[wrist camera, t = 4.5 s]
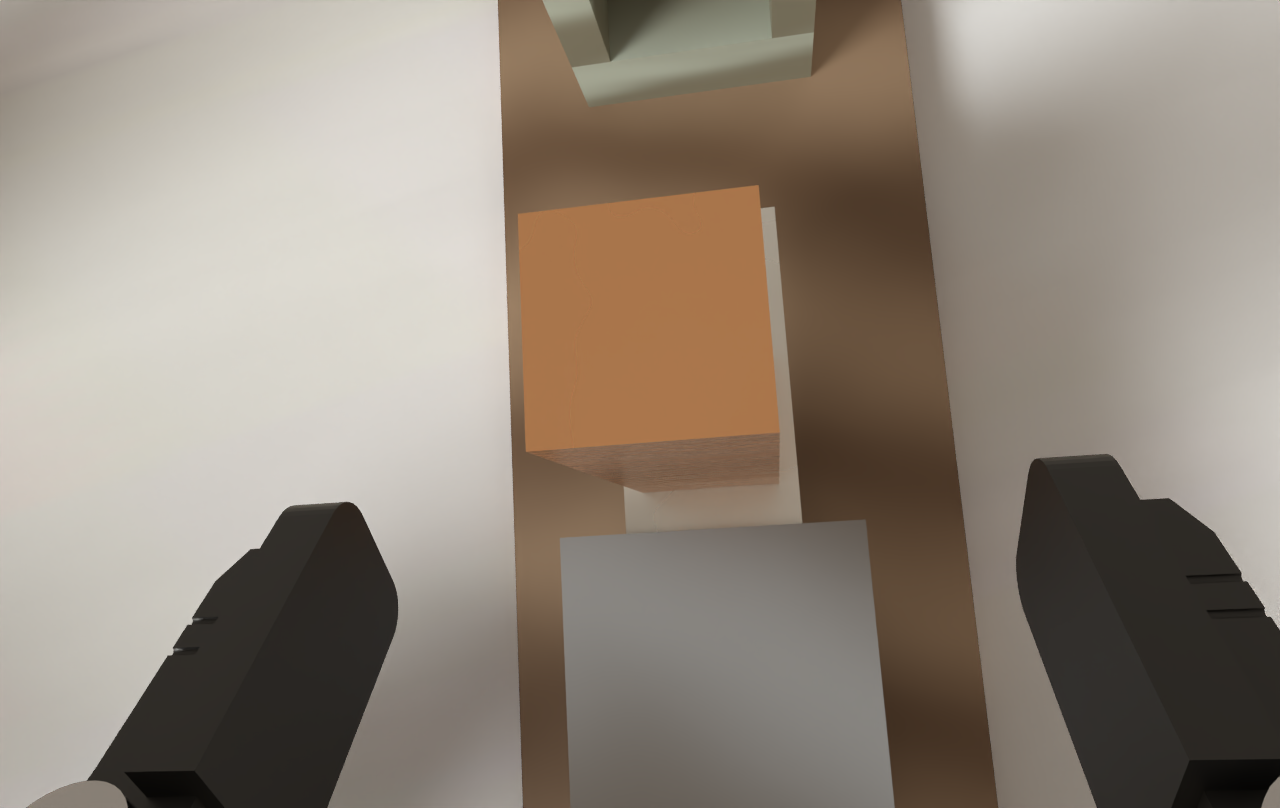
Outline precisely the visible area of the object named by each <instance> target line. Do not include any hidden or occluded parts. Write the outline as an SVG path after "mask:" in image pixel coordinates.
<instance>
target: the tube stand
mask: <svg viewBox="0 0 1280 808" xmlns="http://www.w3.org/2000/svg"><path fill="white" fill-rule="evenodd" d="M498 17H499V50H500V82H501V114H502V146H503V178H504V210H505V243H506V275H507V307H508V339H509V371H510V404H511V436H512V468H513V500H514V532H515V564H516V597H517V629H518V661H519V693H520V725H521V757H522V790H523V808H998V803H997V794H996V786H995V778H994V769H993V761H992V753H991V744H990V736H989V728H988V720H987V711H986V703H985V695H984V686H983V678H982V670H981V661H980V653H979V645H978V636H977V628H976V620H975V612H974V603H973V595H972V587H971V578H970V570H969V562H968V553H967V545H966V537H965V528H964V520H963V512H962V504H961V495H960V487H959V479H958V470H957V462H956V454H955V445H954V437H953V429H952V420H951V412H950V404H949V396H948V387H947V379H946V371H945V362H944V354H943V346H942V337H941V329H940V321H939V312H938V304H937V296H936V288H935V279H934V271H933V263H932V254H931V246H930V238H929V229H928V221H927V213H926V204H925V196H924V188H923V179H922V171H921V163H920V155H919V146H918V138H917V130H916V121H915V113H914V105H913V96H912V88H911V80H910V71H909V63H908V55H907V47H906V38H905V30H904V22H903V13H902V5H901V0H498ZM755 185H759V195H760V207H761V208H768V207H775V218H776V229H777V241H778V252H779V263H780V275H781V286H782V297H783V309H784V320H785V331H786V343H787V354H788V365H789V377H790V388H791V399H792V411H793V422H794V433H795V445H796V456H797V467H798V479H799V490H800V501H801V513H802V523H799V524H782V525H766V526H749V527H732V528H716V529H699V530H683V531H666V532H649V533H633V534H626V520H625V502H624V486H622V485H619V484H616V483H613V482H610V481H608V480H605V479H602V478H599V477H596V476H593V475H591V474H588V473H585V472H582V471H579V470H576V469H573V468H571V467H568V466H565V465H562V464H559V463H556V462H553V461H551V460H548V459H545V458H542V457H539V456H536V455H534V454H531V453H528V452H526V443H525V414H524V384H523V355H522V325H521V296H520V266H519V237H518V214H521V213H529V212H538V211H546V210H554V209H563V208H571V207H579V206H588V205H596V204H605V203H613V202H621V201H630V200H638V199H646V198H655V197H663V196H671V195H680V194H688V193H696V192H705V191H713V190H721V189H730V188H738V187H746V186H755Z"/></svg>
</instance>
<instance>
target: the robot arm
mask: <svg viewBox="0 0 1280 808" xmlns="http://www.w3.org/2000/svg"><path fill="white" fill-rule="evenodd" d="M1016 572H1017V582H1018V589H1019V595H1020V599H1021V603H1022V607H1023V610H1024V613H1025V615H1026V618H1027V621H1028V624H1029V626H1030V629H1031V632H1032V634H1033V637H1034V640H1035V642H1036V645H1037V648H1038V650H1039V653H1040V656H1041V658H1042V661H1043V664H1044V666H1045V669H1046V672H1047V674H1048V677H1049V680H1050V682H1051V685H1052V688H1053V691H1054V693H1055V696H1056V699H1057V701H1058V704H1059V707H1060V709H1061V712H1062V715H1063V717H1064V720H1065V723H1066V725H1067V728H1068V731H1069V733H1070V736H1071V739H1072V741H1073V744H1074V747H1075V750H1076V752H1077V755H1078V758H1079V760H1080V763H1081V766H1082V768H1083V771H1084V774H1085V776H1086V779H1087V782H1088V784H1089V787H1090V790H1091V792H1092V795H1093V798H1094V800H1095V803H1096V806H1097V808H1280V630H1279V628H1278V627H1277V625H1276V624H1275V622H1274V621H1273V619H1272V618H1271V617H1267V616H1266V615H1265V611H1264V609H1265V607H1264V606H1263V604H1262V603H1261V601H1260V600H1259V598H1258V597H1257V595H1256V594H1255V592H1254V591H1253V590H1252V588H1251V587H1250V585H1249V584H1248V582H1247V581H1245V582H1243V580H1242V578H1241V572H1240V570H1239V569H1238V567H1237V566H1236V564H1235V563H1234V561H1233V560H1232V558H1231V557H1230V555H1229V554H1228V552H1227V551H1226V549H1225V548H1224V546H1223V545H1222V543H1221V542H1220V540H1219V539H1218V537H1217V536H1216V534H1215V533H1214V532H1213V531H1212V530H1211V529H1209V528H1208V527H1207V526H1205V525H1204V524H1203V523H1201V522H1200V521H1199V520H1197V519H1196V518H1195V517H1193V516H1192V515H1191V514H1189V513H1188V512H1187V511H1185V510H1184V509H1183V508H1181V507H1180V506H1179V505H1177V504H1176V503H1175V502H1173V501H1172V500H1171V499H1169V498H1166V499H1149V500H1140V499H1139V497H1138V495H1137V494H1136V492H1135V490H1134V489H1133V487H1132V485H1131V484H1130V482H1129V480H1128V479H1127V477H1126V475H1125V474H1124V472H1123V470H1122V469H1121V467H1120V465H1119V464H1118V462H1117V461H1116V460H1115V459H1114V458H1113V457H1112V456H1111V455H1108V454H1099V455H1084V456H1068V457H1053V458H1038V459H1035V460H1034V461H1033V462H1032V463H1031V466H1030V469H1029V473H1028V480H1027V487H1026V493H1025V500H1024V507H1023V514H1022V521H1021V528H1020V535H1019V541H1018V548H1017V557H1016ZM192 619H193V623H192V625H187V627H186V628H185V630H184V631H183V633H182V634H181V636H180V638H179V639H178V641H177V642H176V644H175V645H174V647H173V649H174V653H173V655H170V656H167V658H166V659H165V661H164V662H163V664H162V666H161V667H160V669H159V670H158V672H157V673H156V675H155V677H154V678H153V680H152V681H151V683H150V684H149V686H148V687H147V689H146V691H145V692H144V694H143V695H142V697H141V698H140V700H139V702H138V703H137V705H136V706H135V708H134V709H133V711H132V712H131V714H130V716H129V717H128V719H127V720H126V722H125V723H124V725H123V726H122V728H121V730H120V731H119V733H118V734H117V736H116V737H115V739H114V741H113V742H112V744H111V745H110V747H109V748H108V750H107V751H106V753H105V755H104V756H103V758H102V759H101V761H100V762H99V764H98V766H97V767H96V769H95V770H94V771H93V773H92V774H91V776H90V777H89V778H88V780H87V781H83V782H79V783H74V784H71V785H68V786H65V787H62V788H59V789H57V790H55V791H53V792H51V793H49V794H47V795H45V796H43V797H42V798H40V799H38V800H37V801H35V802H33V803H32V804H31V805H29V806H28V807H26V808H327V806H328V804H329V801H330V799H331V796H332V794H333V791H334V788H335V786H336V783H337V781H338V778H339V775H340V773H341V770H342V768H343V765H344V763H345V760H346V757H347V755H348V752H349V750H350V747H351V744H352V742H353V739H354V737H355V734H356V732H357V729H358V726H359V724H360V721H361V719H362V716H363V713H364V711H365V708H366V706H367V703H368V701H369V698H370V695H371V693H372V690H373V688H374V685H375V683H376V680H377V677H378V675H379V672H380V670H381V667H382V664H383V662H384V659H385V657H386V654H387V652H388V649H389V646H390V644H391V641H392V639H393V636H394V633H395V630H396V625H397V619H398V598H397V592H396V588H395V585H394V582H393V580H392V578H391V576H390V573H389V571H388V569H387V567H386V565H385V563H384V561H383V558H382V556H381V554H380V552H379V550H378V548H377V545H376V543H375V541H374V539H373V537H372V535H371V532H370V530H369V528H368V526H367V524H366V522H365V520H364V517H363V515H362V513H361V512H360V510H359V509H358V507H357V506H356V505H354V504H353V503H350V502H339V503H324V504H309V505H294V506H290V507H288V508H287V509H285V510H284V511H283V512H282V514H281V515H280V517H279V518H278V520H277V521H276V523H275V525H274V526H273V528H272V530H271V531H270V533H269V534H268V536H267V538H266V539H265V541H264V543H263V544H262V546H261V548H260V549H250V550H249V551H248V552H247V553H246V554H245V555H244V556H243V557H242V558H241V559H240V560H238V561H237V562H236V563H235V564H234V565H233V566H232V567H231V568H230V569H229V570H227V571H226V572H225V573H224V574H223V575H222V576H221V577H220V578H219V579H218V580H216V581H215V583H214V584H213V586H212V588H211V589H210V591H209V592H208V594H207V595H206V597H205V599H204V600H203V602H202V603H201V605H200V606H199V608H198V609H197V611H196V613H195V614H194V616H193V617H192Z"/></svg>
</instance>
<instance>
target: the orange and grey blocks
mask: <svg viewBox="0 0 1280 808" xmlns="http://www.w3.org/2000/svg"><path fill="white" fill-rule="evenodd" d="M518 237H519V266H520V296H521V325H522V355H523V384H524V414H525V443H526V452H528V453H531V454H534V455H536V456H539V457H542V458H545V459H548V460H551V461H553V462H556V463H559V464H562V465H565V466H568V467H571V468H573V469H576V470H579V471H582V472H585V473H588V474H591V475H593V476H596V477H599V478H602V479H605V480H608V481H610V482H613V483H616V484H619V485H622V486H624V502H625V520H626V534H633V533H649V532H666V531H683V530H699V529H716V528H732V527H749V526H766V525H782V524H799V523H802V513H801V501H800V490H799V479H798V467H797V456H796V445H795V433H794V422H793V411H792V399H791V388H790V377H789V365H788V354H787V343H786V331H785V320H784V309H783V297H782V286H781V275H780V263H779V252H778V241H777V229H776V218H775V207H768V208H761V207H760V195H759V185H755V186H746V187H738V188H730V189H721V190H713V191H705V192H696V193H688V194H680V195H671V196H663V197H655V198H646V199H638V200H630V201H621V202H613V203H605V204H596V205H588V206H579V207H571V208H563V209H554V210H546V211H538V212H529V213H521V214H518Z"/></svg>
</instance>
